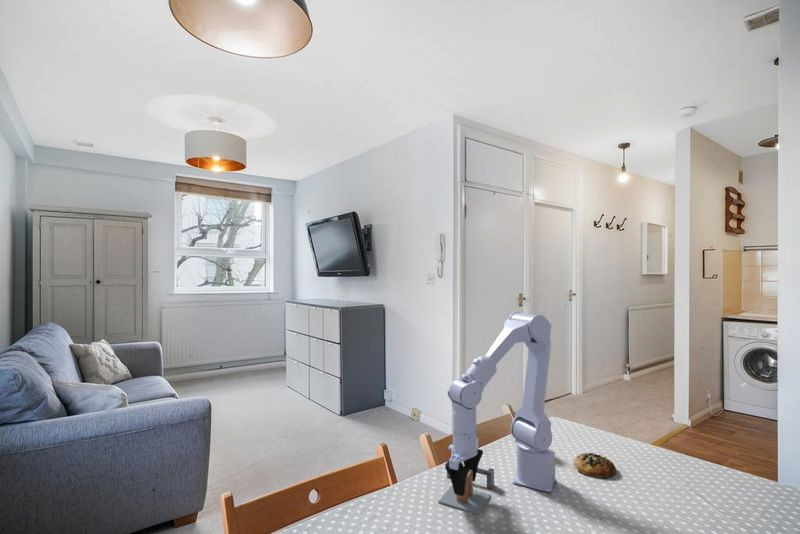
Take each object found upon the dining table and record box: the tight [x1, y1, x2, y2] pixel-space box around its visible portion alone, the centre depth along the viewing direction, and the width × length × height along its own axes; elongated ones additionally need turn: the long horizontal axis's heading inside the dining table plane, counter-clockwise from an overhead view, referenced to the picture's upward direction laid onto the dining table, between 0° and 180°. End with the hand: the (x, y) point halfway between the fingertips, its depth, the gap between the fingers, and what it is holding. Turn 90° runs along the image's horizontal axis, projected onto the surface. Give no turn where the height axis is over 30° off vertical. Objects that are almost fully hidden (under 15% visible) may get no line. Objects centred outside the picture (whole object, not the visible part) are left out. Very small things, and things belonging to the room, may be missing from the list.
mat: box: [438, 484, 492, 516], centre depth 99 cm, size 10×9×1 cm
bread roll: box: [573, 452, 617, 479], centre depth 114 cm, size 11×11×5 cm
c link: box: [457, 469, 474, 504], centre depth 99 cm, size 2×5×6 cm, turn 150°
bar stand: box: [446, 463, 495, 490], centre depth 107 cm, size 12×2×4 cm, turn 60°
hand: (465, 487), depth 99 cm, fingers open, 7 cm apart
